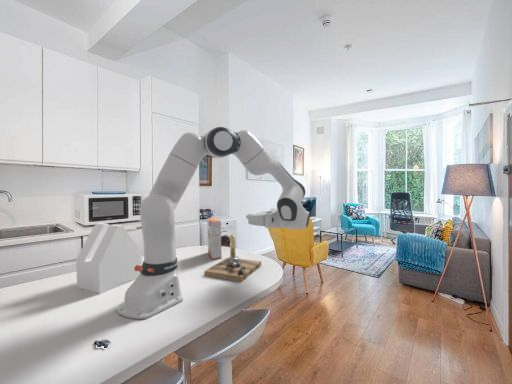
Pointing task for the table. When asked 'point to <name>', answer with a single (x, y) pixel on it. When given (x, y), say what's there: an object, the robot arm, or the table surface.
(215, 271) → the stand
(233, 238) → the capstan
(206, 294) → the table surface
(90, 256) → the milk carton
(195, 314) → the table surface
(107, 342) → the blueberries
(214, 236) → the cracker box
